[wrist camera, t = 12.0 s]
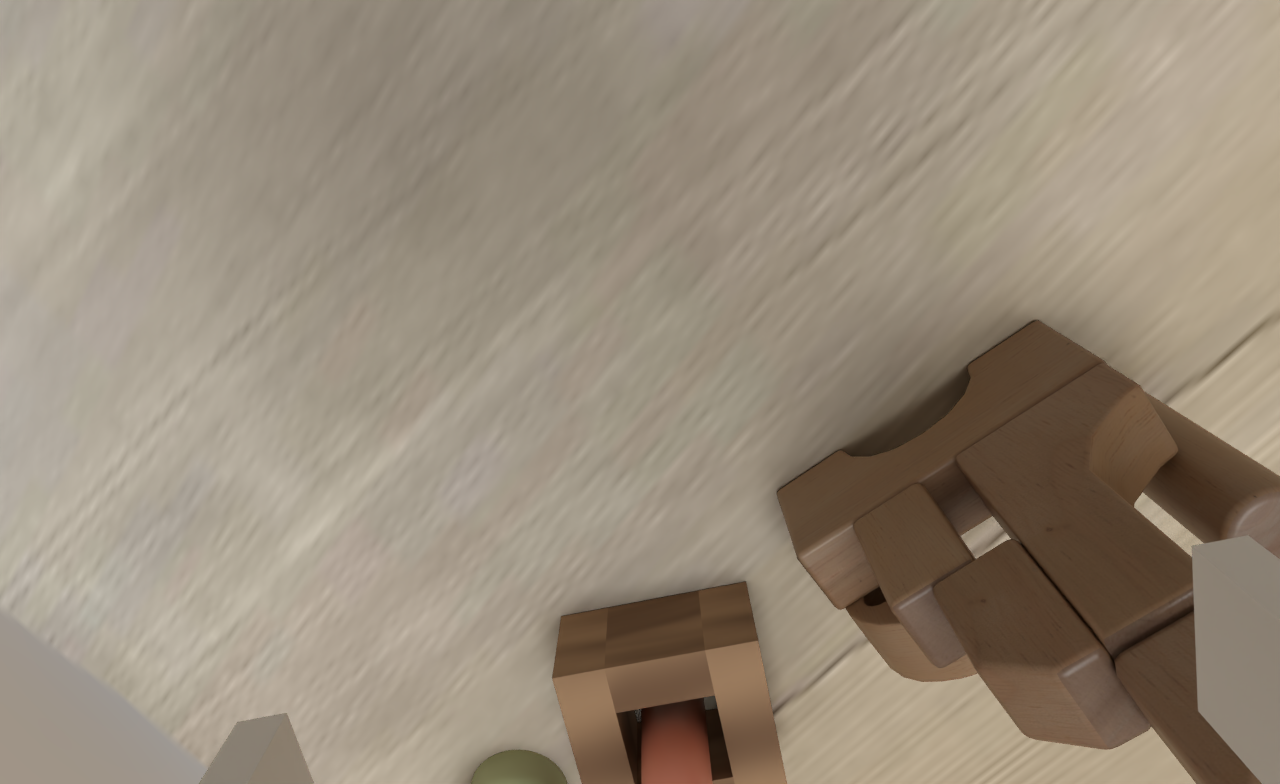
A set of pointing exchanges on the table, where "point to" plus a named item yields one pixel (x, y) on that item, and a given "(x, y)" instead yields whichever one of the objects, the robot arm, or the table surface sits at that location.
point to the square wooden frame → (667, 683)
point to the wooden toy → (1041, 548)
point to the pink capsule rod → (675, 744)
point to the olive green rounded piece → (518, 769)
